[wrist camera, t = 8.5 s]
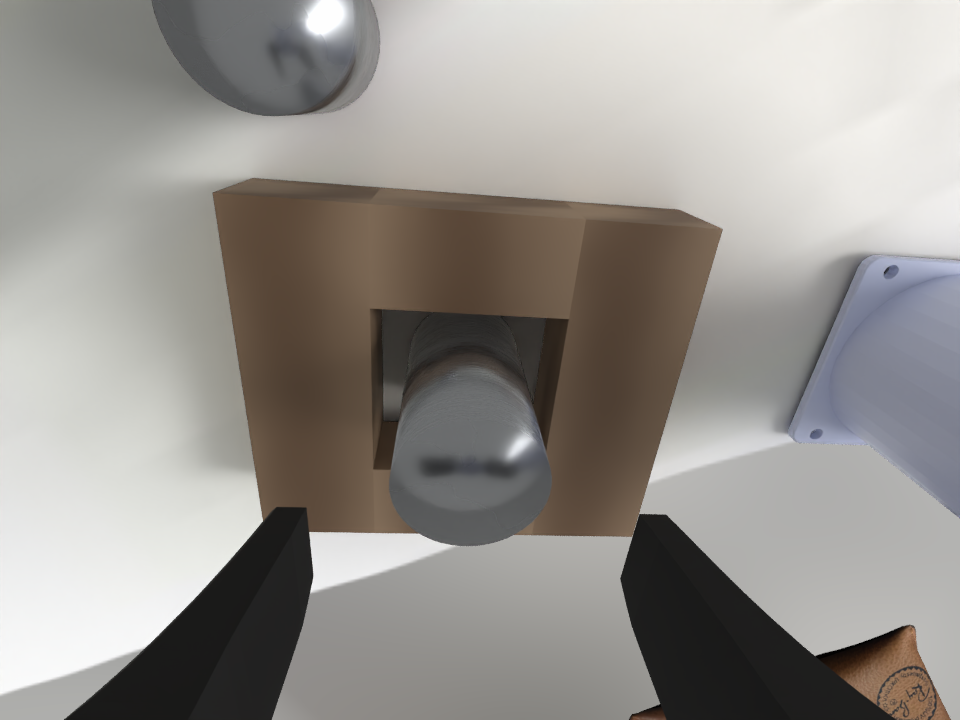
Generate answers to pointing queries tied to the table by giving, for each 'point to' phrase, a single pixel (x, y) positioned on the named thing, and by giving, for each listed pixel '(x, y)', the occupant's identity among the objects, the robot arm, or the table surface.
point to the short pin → (275, 51)
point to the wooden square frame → (455, 289)
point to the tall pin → (467, 435)
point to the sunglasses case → (877, 677)
